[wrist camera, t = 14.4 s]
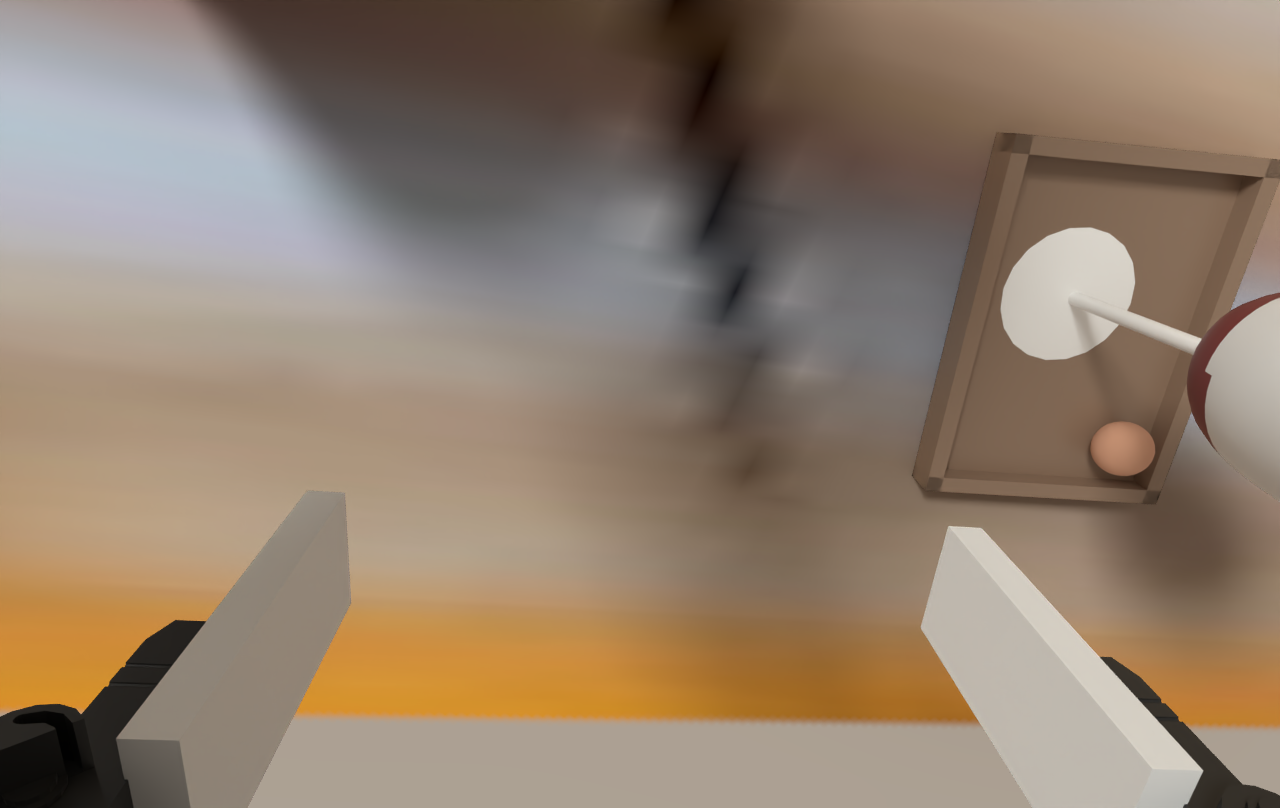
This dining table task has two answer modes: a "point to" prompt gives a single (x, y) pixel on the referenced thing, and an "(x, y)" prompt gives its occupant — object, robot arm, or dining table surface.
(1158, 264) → the tray
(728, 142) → the dining table surface
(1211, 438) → the wineglass
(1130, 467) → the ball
